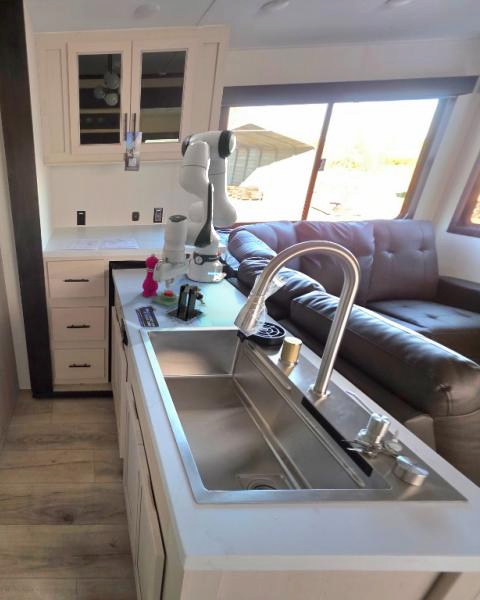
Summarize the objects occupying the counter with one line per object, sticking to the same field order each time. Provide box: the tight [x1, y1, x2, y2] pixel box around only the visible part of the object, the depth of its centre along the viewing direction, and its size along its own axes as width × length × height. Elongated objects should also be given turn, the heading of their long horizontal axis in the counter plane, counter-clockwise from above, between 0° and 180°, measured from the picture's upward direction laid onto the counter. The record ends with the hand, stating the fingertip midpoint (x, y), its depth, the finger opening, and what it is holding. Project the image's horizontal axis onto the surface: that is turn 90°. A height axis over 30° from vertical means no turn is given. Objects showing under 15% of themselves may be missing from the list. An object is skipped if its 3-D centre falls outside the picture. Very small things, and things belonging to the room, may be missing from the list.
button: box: [164, 289, 174, 297], centre depth 137 cm, size 4×4×2 cm
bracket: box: [166, 283, 204, 323], centre depth 125 cm, size 12×9×13 cm
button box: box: [151, 291, 179, 309], centre depth 138 cm, size 11×9×4 cm
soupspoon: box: [189, 284, 206, 305], centre depth 145 cm, size 22×3×7 cm
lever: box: [184, 286, 204, 301], centre depth 127 cm, size 13×3×3 cm, turn 131°
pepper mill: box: [141, 253, 160, 298], centre depth 143 cm, size 7×7×20 cm
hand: (169, 287), depth 136 cm, fingers closed
